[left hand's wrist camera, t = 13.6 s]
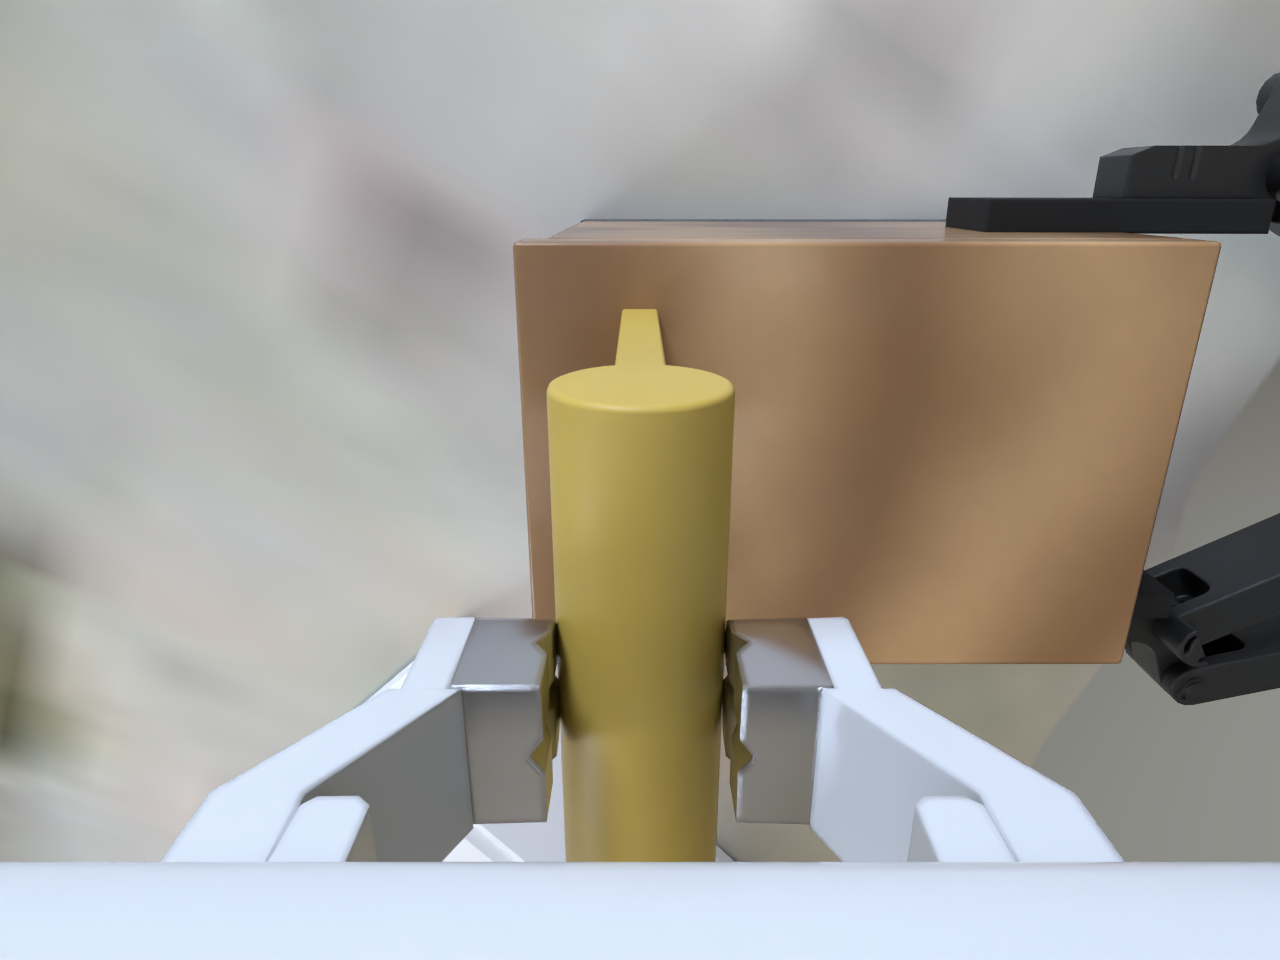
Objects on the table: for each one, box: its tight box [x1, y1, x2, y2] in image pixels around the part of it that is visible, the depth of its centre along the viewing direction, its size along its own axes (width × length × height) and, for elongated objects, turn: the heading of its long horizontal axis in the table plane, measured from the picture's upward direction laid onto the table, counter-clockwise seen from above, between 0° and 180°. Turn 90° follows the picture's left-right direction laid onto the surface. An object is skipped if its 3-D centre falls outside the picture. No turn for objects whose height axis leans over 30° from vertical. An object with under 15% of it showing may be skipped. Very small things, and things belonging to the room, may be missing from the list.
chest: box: [548, 220, 1183, 239], centre depth 23 cm, size 13×9×10 cm
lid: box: [513, 239, 1221, 862], centre depth 14 cm, size 14×9×9 cm
